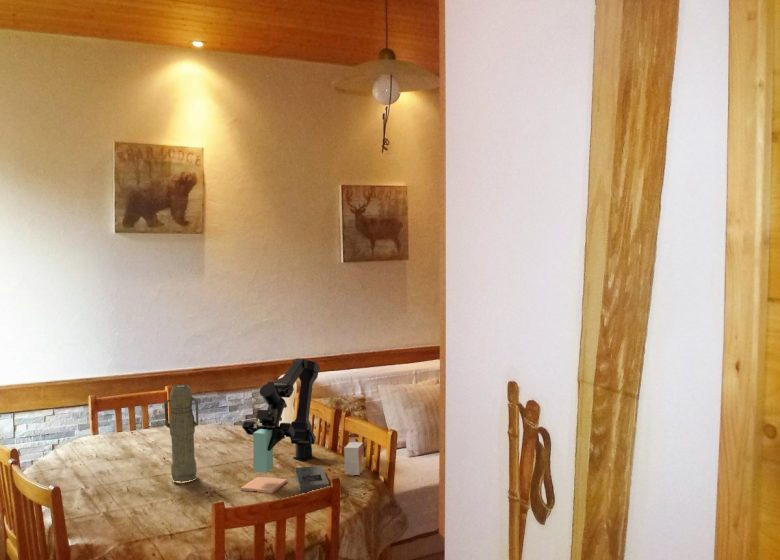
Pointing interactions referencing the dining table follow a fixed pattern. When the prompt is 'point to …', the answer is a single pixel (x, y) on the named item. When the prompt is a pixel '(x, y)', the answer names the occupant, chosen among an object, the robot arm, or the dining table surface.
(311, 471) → the grey slotted board
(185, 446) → the thermos
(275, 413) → the robot arm
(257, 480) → the tile
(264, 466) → the peg
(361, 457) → the small box
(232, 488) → the dining table surface
